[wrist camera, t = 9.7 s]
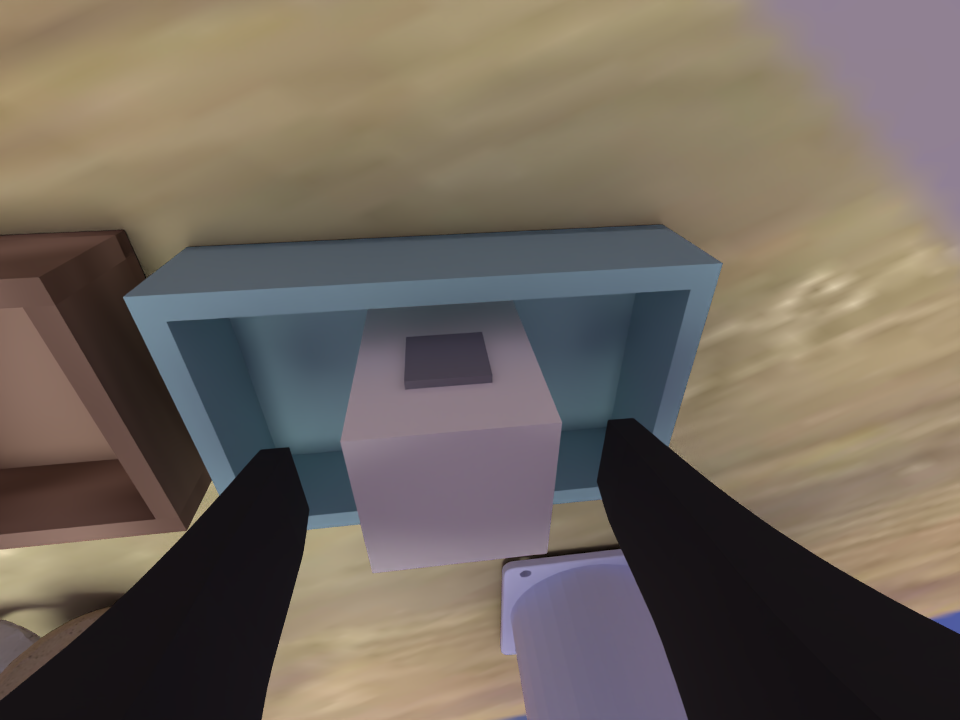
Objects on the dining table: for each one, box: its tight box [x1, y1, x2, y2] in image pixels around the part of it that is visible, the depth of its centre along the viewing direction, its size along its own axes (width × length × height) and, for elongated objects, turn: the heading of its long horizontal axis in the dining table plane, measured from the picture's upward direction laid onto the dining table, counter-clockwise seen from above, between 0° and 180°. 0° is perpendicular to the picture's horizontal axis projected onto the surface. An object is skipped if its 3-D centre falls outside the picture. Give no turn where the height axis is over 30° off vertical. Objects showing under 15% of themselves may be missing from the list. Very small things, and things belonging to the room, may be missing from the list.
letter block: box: [340, 300, 562, 573], centre depth 11 cm, size 4×4×6 cm
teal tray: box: [123, 224, 723, 530], centre depth 13 cm, size 13×8×3 cm, turn 91°
